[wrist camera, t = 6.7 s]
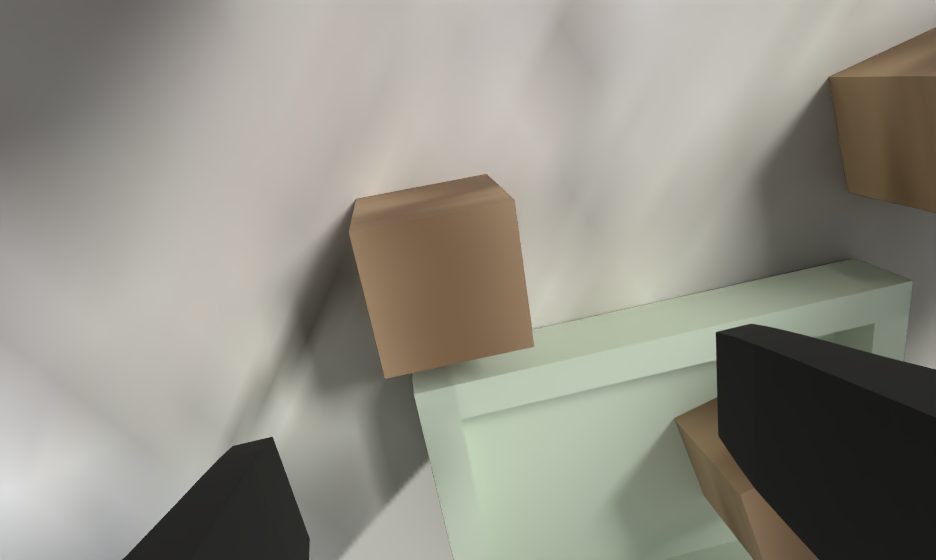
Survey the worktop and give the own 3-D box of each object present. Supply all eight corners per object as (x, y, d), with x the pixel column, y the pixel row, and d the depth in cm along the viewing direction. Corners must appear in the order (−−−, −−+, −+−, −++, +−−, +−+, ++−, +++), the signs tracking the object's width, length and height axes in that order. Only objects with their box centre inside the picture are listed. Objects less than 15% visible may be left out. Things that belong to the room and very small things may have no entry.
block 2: (775, 369, 20) (864, 434, 16) (798, 450, 22) (885, 527, 18) (673, 418, 20) (739, 494, 16) (703, 495, 22) (771, 582, 18)
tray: (853, 258, 20) (913, 280, 18) (833, 519, 24) (879, 564, 22) (410, 357, 19) (413, 394, 17) (470, 613, 23) (479, 671, 21)
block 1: (485, 173, 17) (514, 199, 14) (503, 293, 19) (534, 346, 15) (356, 198, 17) (348, 232, 13) (384, 317, 18) (385, 378, 15)
